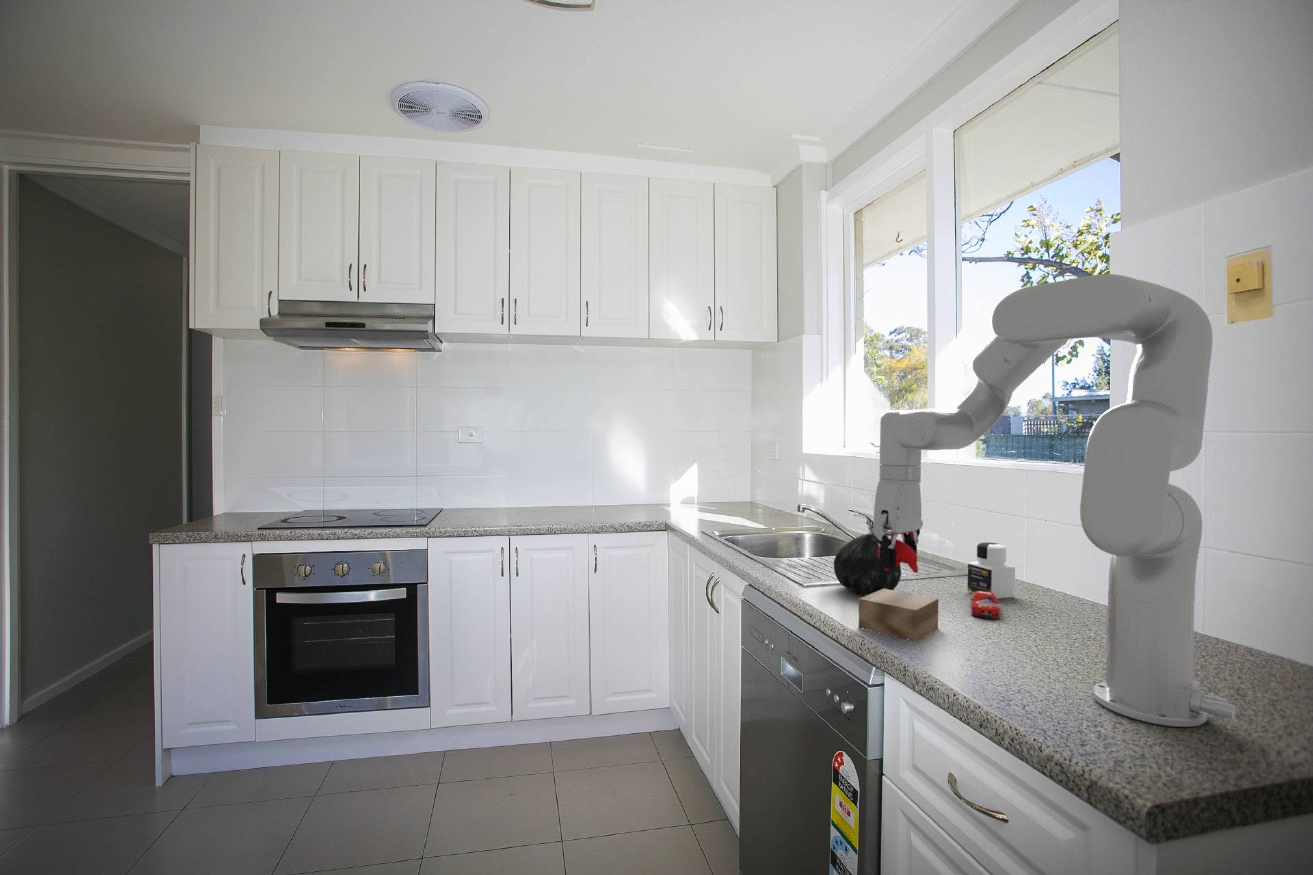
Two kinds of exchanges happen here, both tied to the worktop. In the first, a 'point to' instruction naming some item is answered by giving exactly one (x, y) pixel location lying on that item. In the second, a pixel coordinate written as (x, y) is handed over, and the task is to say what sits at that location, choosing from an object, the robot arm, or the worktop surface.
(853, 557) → the squash
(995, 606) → the race car
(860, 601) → the walnut block
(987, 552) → the medicine bottle
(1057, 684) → the worktop surface
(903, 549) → the red rounded piece
